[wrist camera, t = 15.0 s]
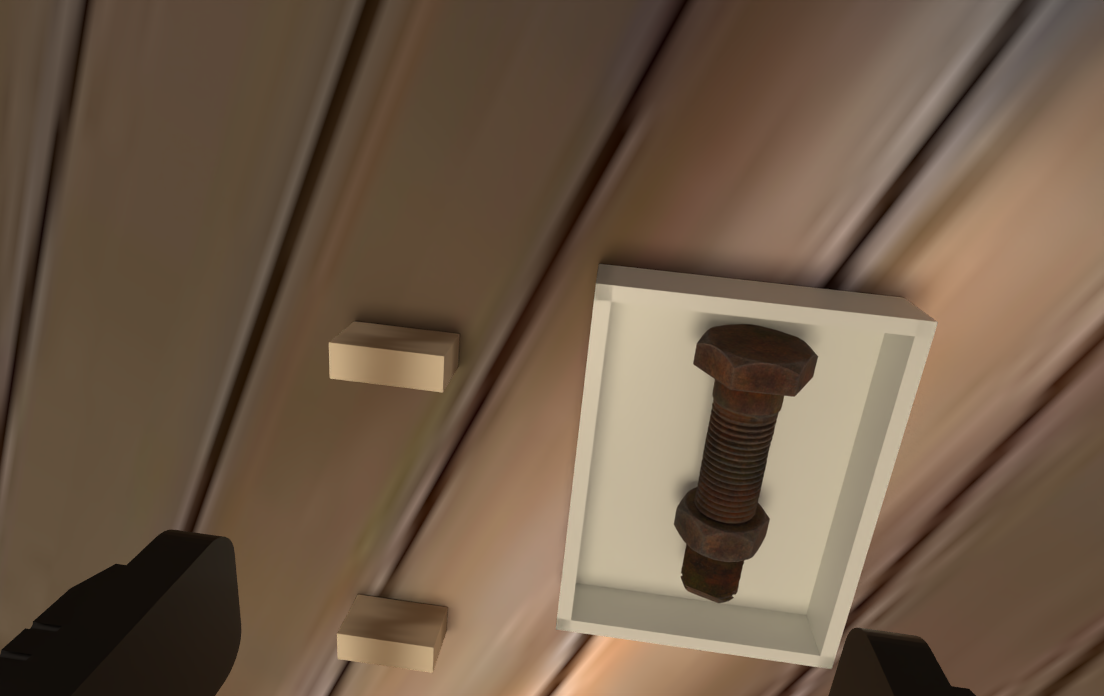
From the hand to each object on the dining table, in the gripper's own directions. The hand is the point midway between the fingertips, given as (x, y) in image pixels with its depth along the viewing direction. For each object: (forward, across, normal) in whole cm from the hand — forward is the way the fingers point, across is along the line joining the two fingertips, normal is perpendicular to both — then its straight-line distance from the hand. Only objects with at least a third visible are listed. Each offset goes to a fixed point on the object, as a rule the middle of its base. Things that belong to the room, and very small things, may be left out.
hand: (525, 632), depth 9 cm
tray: (+28, -8, +12) cm, 32 cm away
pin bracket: (+28, +10, +17) cm, 34 cm away
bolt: (+28, -8, +11) cm, 31 cm away
